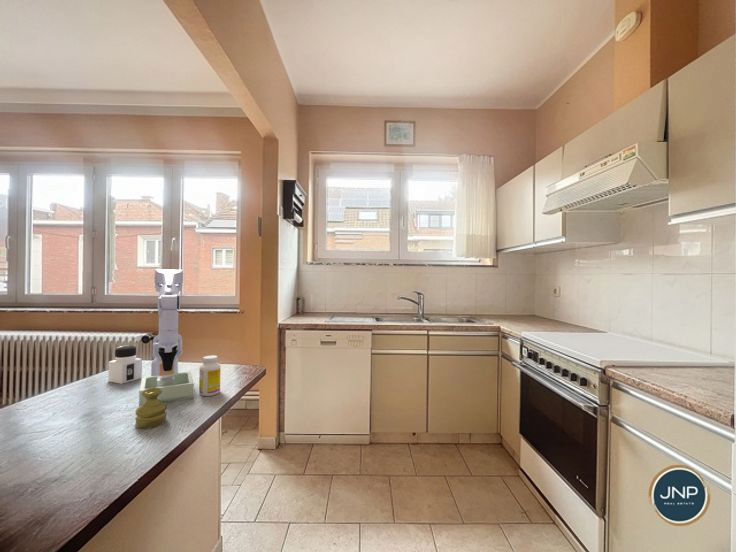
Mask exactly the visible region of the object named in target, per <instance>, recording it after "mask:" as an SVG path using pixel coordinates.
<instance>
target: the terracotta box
mask: <svg viewBox="0 0 736 552" xmlns="http://www.w3.org/2000/svg"><path fill="white" fill-rule="evenodd" d="M173 365H174V362H173ZM172 374H173V366H172V370H171V371H164V369H163V364H162V361H160V373H159V376H164V375H172Z"/></svg>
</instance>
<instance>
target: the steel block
mask: <svg viewBox="0 0 736 552" xmlns="http://www.w3.org/2000/svg"><path fill="white" fill-rule="evenodd" d="M174 382H175V378H174V375H167V376H159V377H157V387H163V386H170V385H174Z"/></svg>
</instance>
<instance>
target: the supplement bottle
mask: <svg viewBox="0 0 736 552" xmlns="http://www.w3.org/2000/svg"><path fill="white" fill-rule="evenodd" d="M202 362H203V363H202V364H200V366H199V378H198V379H199V380H198V381H199V382H198V383H199V387H198V388H199V389H198V393H199V395H200V396H201V397H212V396H216V395H218V394H220V391H221V364H220V363H218V355H212V354H211V355H206V356H203V357H202Z"/></svg>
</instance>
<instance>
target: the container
mask: <svg viewBox="0 0 736 552" xmlns="http://www.w3.org/2000/svg"><path fill="white" fill-rule="evenodd" d="M107 370H108V373H107V374H108V376H107V377H108V380H107V381H108V382H109V383H115V384H121V385H123V383H124V384H126V383H130V382H134V381H136V380H140V379H142V377H143V376H142V375H143V359H142V358H139V357H137V347H136V346H134V345H129V344H128V345H121V346H118V347H116V348H115V349H114V359H113V360H109V361H108V369H107Z"/></svg>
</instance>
